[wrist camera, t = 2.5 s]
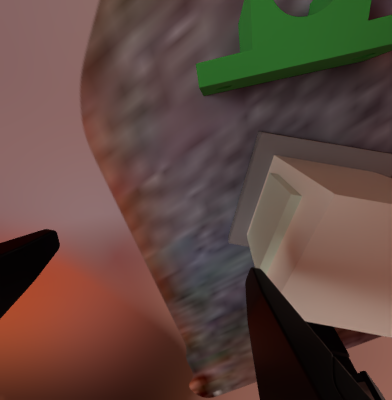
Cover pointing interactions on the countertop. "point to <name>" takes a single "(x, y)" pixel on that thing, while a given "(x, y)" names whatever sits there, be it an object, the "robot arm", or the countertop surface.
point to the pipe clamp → (296, 43)
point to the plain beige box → (321, 229)
